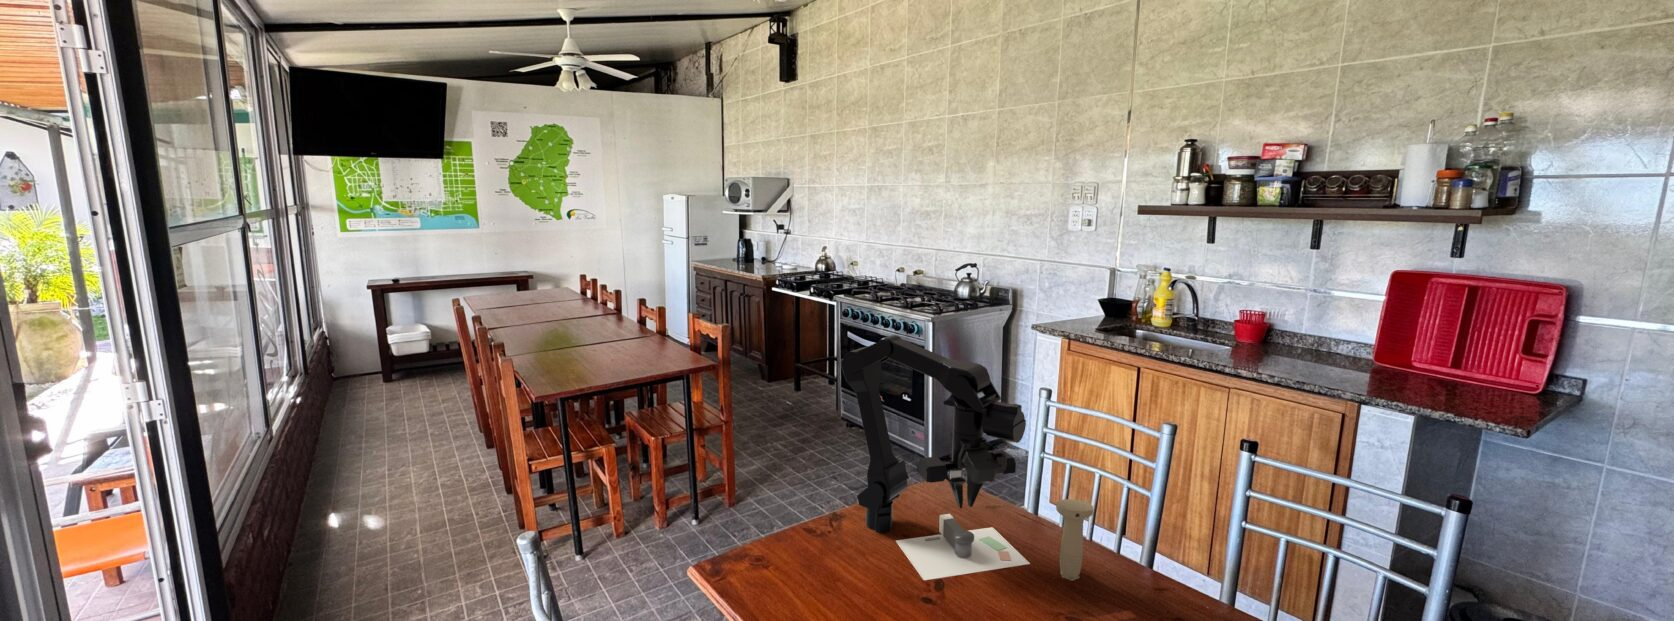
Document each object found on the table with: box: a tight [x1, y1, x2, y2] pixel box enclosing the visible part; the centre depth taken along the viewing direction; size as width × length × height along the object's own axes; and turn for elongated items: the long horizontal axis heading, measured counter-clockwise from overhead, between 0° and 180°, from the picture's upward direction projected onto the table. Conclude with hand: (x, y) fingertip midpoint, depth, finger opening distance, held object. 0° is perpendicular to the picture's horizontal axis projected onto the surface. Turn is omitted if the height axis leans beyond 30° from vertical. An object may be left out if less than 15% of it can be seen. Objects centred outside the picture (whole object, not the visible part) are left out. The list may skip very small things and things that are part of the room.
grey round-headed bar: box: [938, 513, 974, 557], centre depth 139 cm, size 11×4×4 cm, turn 16°
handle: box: [1055, 498, 1094, 581], centre depth 128 cm, size 5×6×15 cm
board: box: [895, 526, 1031, 581], centre depth 137 cm, size 15×22×1 cm
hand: (965, 506), depth 134 cm, fingers closed
